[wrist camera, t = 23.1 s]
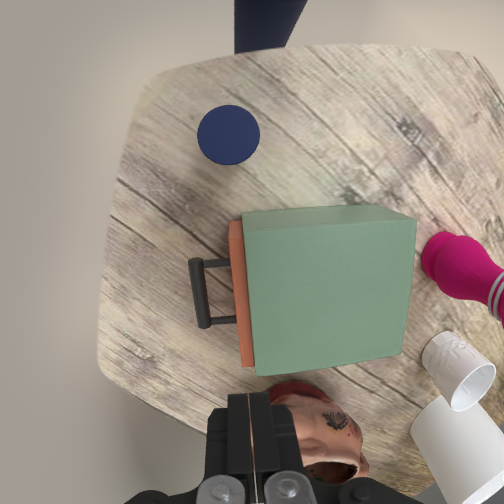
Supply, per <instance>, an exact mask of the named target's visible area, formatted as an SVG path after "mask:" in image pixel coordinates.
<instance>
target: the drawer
mask: <svg viewBox="0 0 504 504" xmlns="http://www.w3.org/2000/svg"><path fill="white" fill-rule="evenodd" d="M228 240H229V251H230V258H223V259H212V260H203V259H202V258H198V257H197V258H191V259H189V260H188V266H189V273H190V280H191V286H192V293H193V299H194V305H195V311H196V317H197V323H198V327H199V328H201V329H207V328H209V327H211V325H215V324H229V323H237V327H238V336H239V345H240V353H241V362H242V367H251V366H255V361H254V350H253V339H252V328H251V316H250V305H249V293H248V282H247V270H246V258H245V246H244V235H243V226H242V220H238V221H230V225H229V237H228ZM221 266H231V271H232V280H233V290H234V299H235V309H236V315H232V316H219V317H211V316H210V309H209V302H208V295H207V288H206V280H205V273H204V268H209V267H221Z"/></svg>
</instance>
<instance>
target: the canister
mask: <svg viewBox="0 0 504 504" xmlns="http://www.w3.org/2000/svg"><path fill="white" fill-rule="evenodd" d="M410 434H411V436H412V438H413V440H414V442H415V443H416V445H417V447H418V449H419V451H420V453H421V454H422V456H423V458H424V460H425V462H426V464H427V465H428V467H429V469H430V471H431V473H432V475H433V477H434V478H435V480H436V482H437V484H438V486H439V488H440V490H441V492H442V494H443V496H444V498H445V499H446V501H447V503H448V504H481V503H482V502H484V501H485V500H487V499H488V498H489V497H491V496H492V495H493V494H495V493H496V492H497V491H498V490H499V489H500V488H502V487H503V486H504V434H503V433H502V432H501V430H500V429H499V428H498V426H497V425H496V424H495V423H494V421H493V420H492V419H491V418H490V416H489V415H488V414H487V413H486V412H485V410H484V409H483V408H482V407H481V405H480V404H479V403H478V402H477V403H475V404H474V405H473V406H471V407H470V408H468V409H466V410H463V411H459V412H456V411H453V410H452V409H451V407H450V406H449V404H448V403H447V401H446V400H445V398H444V397H443V395H440V396H438V397H437V398H436V399H434V400H433V401H432V402H430V403H429V404H428V405H427V406H426V407H425V408H424V409H423V410H422V411H421V412H420V413H419V414H418V416H417V417H416V419H415V420H414V422H413V424H412V426H411V429H410Z"/></svg>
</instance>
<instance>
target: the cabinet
mask: <svg viewBox="0 0 504 504" xmlns="http://www.w3.org/2000/svg"><path fill="white" fill-rule="evenodd" d="M241 216H242V226H243V235H244V246H245V258H246V270H247V282H248V293H249V305H250V316H251V328H252V339H253V350H254V361H255V372H256V377H260V376H270V375H279V374H288V373H296V372H303V371H311V370H318V369H324V368H331V367H337V366H343V365H348V364H354V363H359V362H365V361H370V360H375V359H380V358H384V357H389V356H393V355H398V354H401V349H402V344H403V338H404V333H405V327H406V321H407V314H408V308H409V301H410V293H411V285H412V276H413V266H414V255H415V242H416V224H417V220H416V219H413V218H411V217H409V216H406V215H404V214H401V213H398V212H396V211H393V210H391V209H388V208H385V207H383V206H380V205H378V204H363V205H344V206H326V207H309V208H294V209H280V210H267V211H254V212H242V213H241Z"/></svg>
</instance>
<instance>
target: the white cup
mask: <svg viewBox="0 0 504 504" xmlns="http://www.w3.org/2000/svg"><path fill="white" fill-rule="evenodd" d="M422 364H423V366H424V367H425V368H426V370H427V371H428V373H429V374H430V377H431V378H432V380H433V382H434V384H435V385H436V387H437V388H438V389H439V391H440V392H441V394H442V395H443V397H444V398H445V400H446V401H447V403H448V404H449V406H450V407H451V409H452V410H453V411H456V412H459V411H463V410H466V409H468V408H470V407H471V406H473V405H474V404H475V403H477V402H478V401H479V400H480V399H481V398H482V397H483V396H484V395H485V394H486V392H487V391H488V390H489V388H490V387H491V385H492V383H493V381H494V378H495V375H496V367H495V365H494V364H492V363H491V362H490V361H489V360H488V359H487V358H485V357H484V356H483V355H482V354H481V353H480V352H478V351H477V350H476V349H475V348H474V347H472V346H471V345H469V344H468V343H467V342H466V341H464V340H463V339H461V338H460V337H459V336H458V335H456V334H455V333H454V332H451V331H445V332H441V333H439V334H438V335H436V336H435V337H433V338H432V339H431V340H430V342H429V343H428V344H427V345H426V347H425V349H424V351H423V354H422Z"/></svg>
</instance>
